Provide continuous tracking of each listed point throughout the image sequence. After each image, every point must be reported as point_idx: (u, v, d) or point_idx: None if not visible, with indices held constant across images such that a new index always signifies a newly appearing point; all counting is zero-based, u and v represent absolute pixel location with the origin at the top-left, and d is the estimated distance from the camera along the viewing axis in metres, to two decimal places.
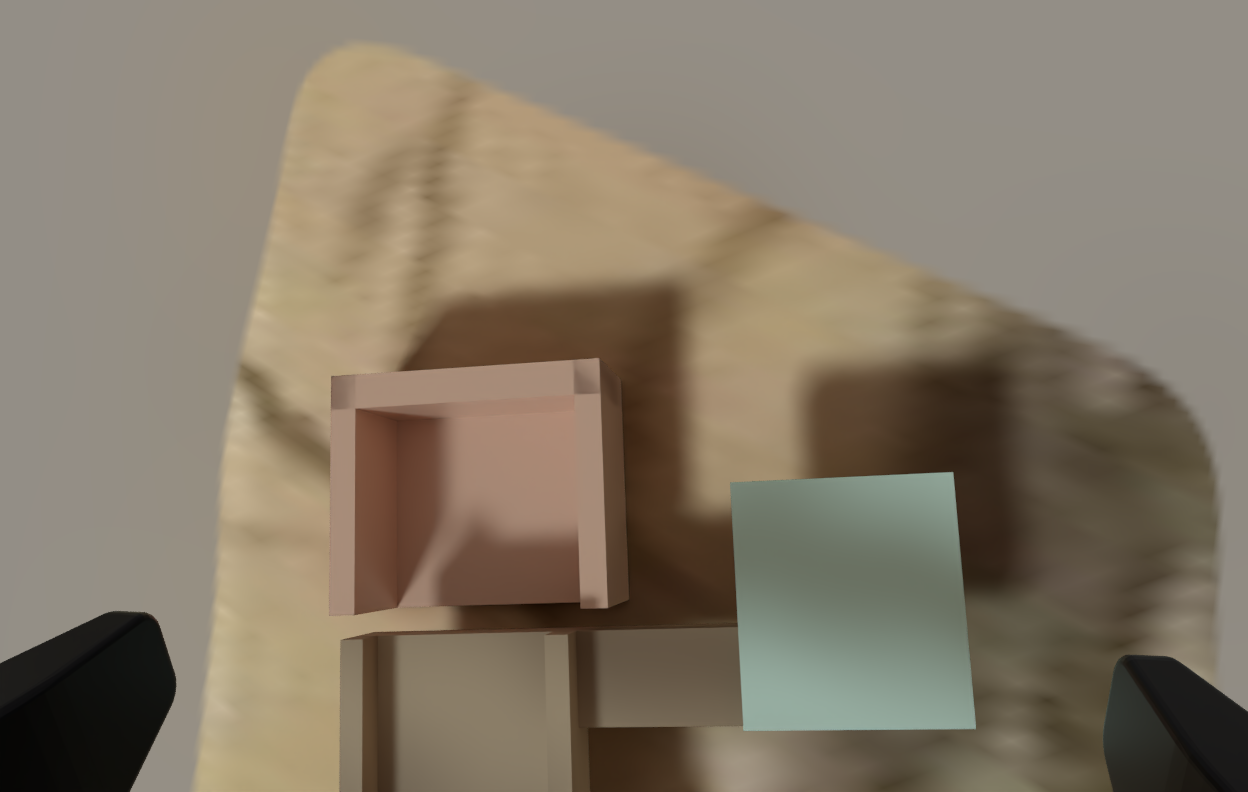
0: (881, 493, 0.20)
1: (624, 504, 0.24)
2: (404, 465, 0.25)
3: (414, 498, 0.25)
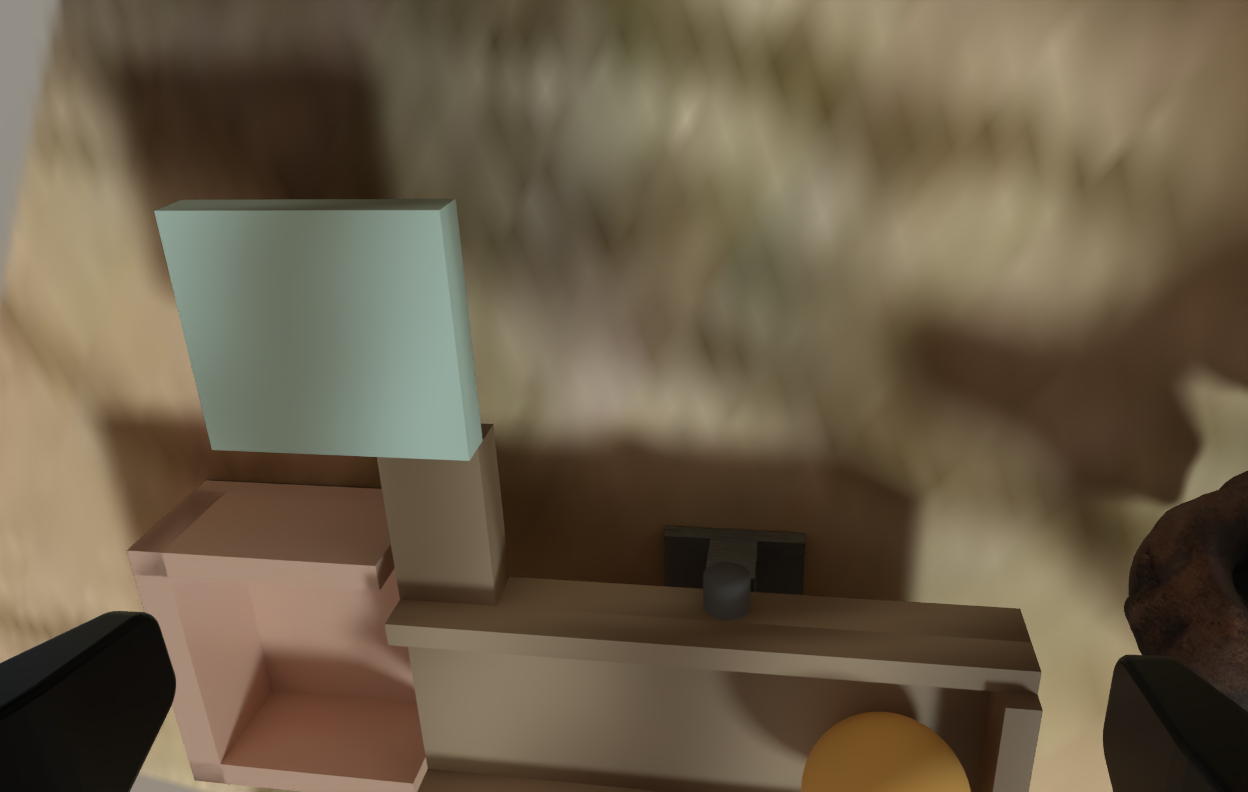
0: (193, 293, 0.17)
1: (327, 490, 0.22)
2: (313, 688, 0.24)
3: (344, 682, 0.24)
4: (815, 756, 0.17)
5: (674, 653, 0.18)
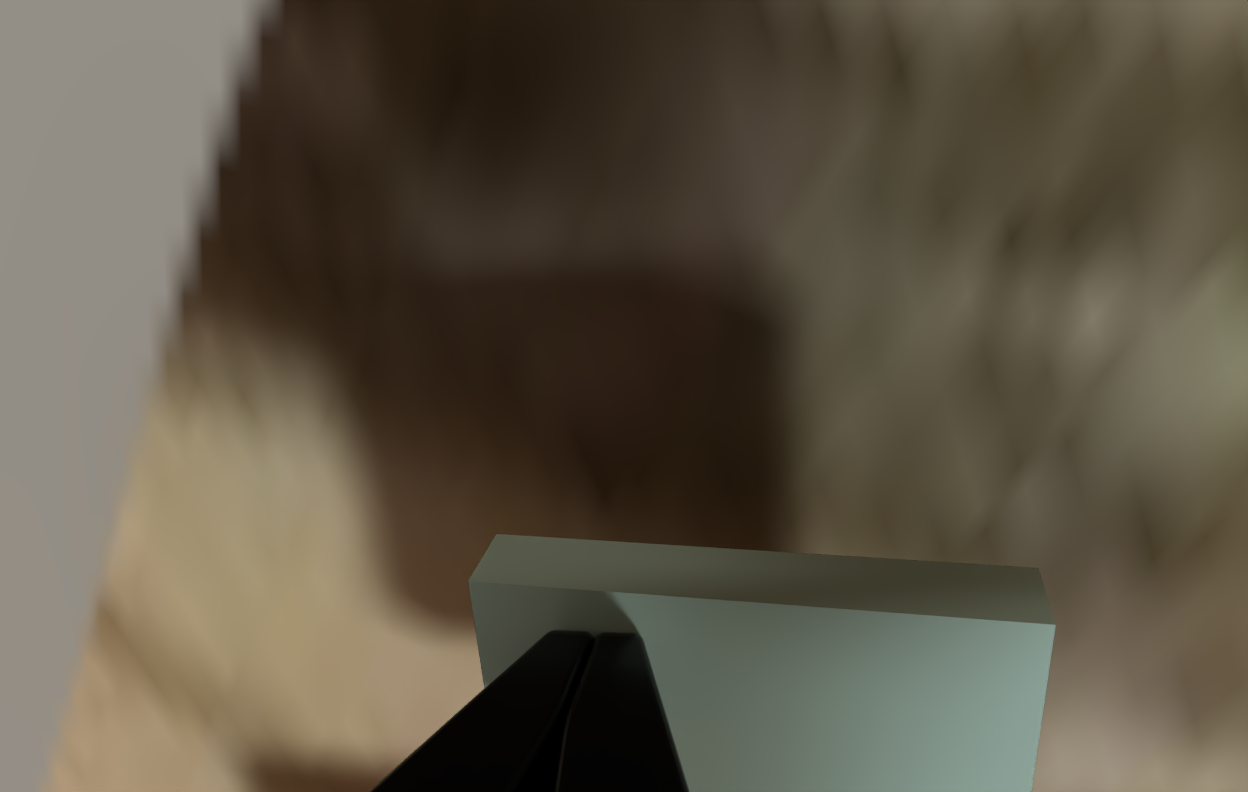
0: None
1: None
2: None
3: None
4: None
5: None
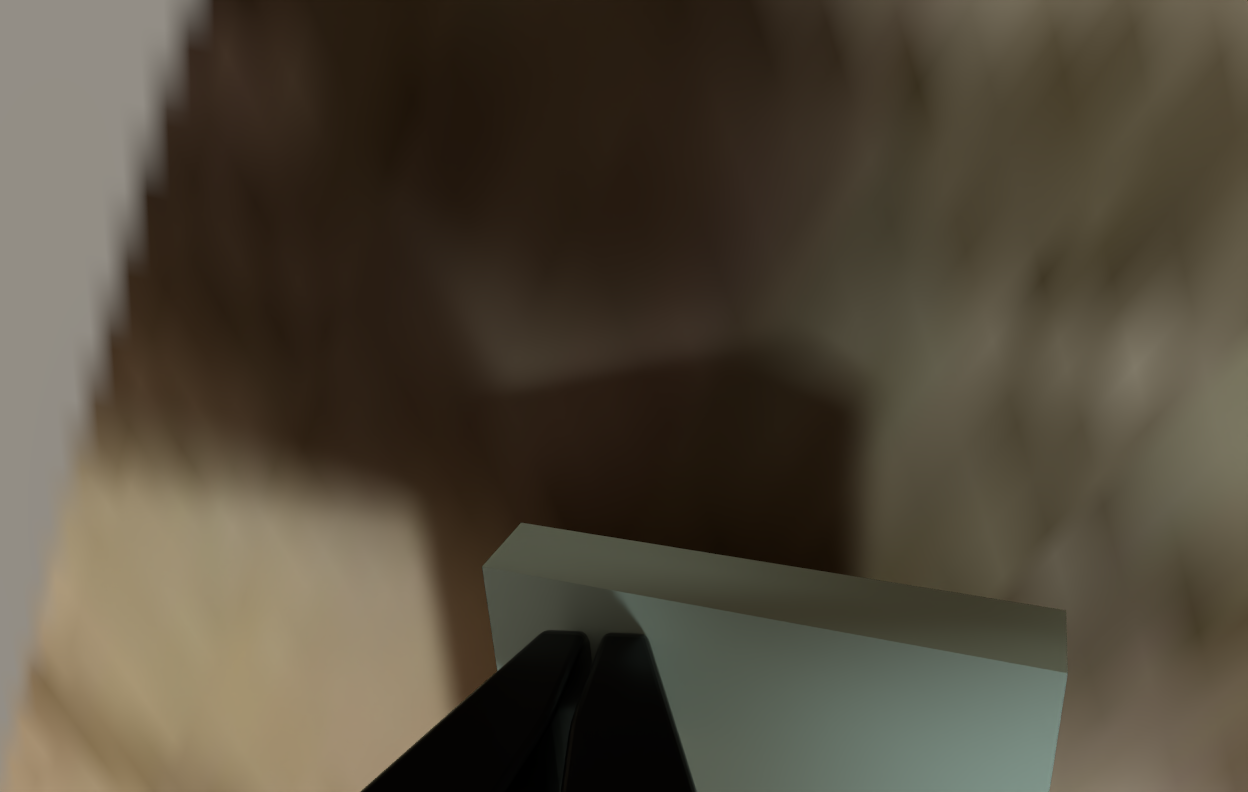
0: None
1: None
2: None
3: None
4: None
5: None
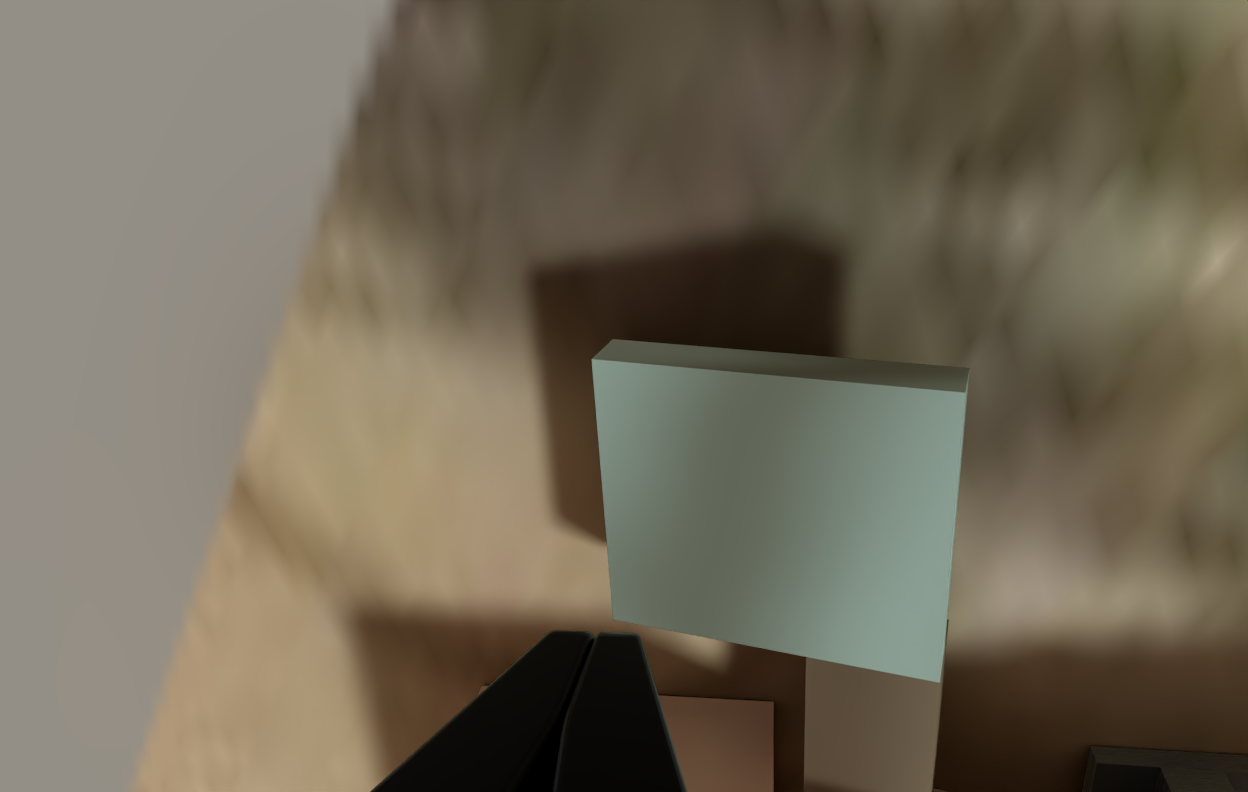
0: (621, 452, 0.14)
1: None
2: None
3: None
4: None
5: None
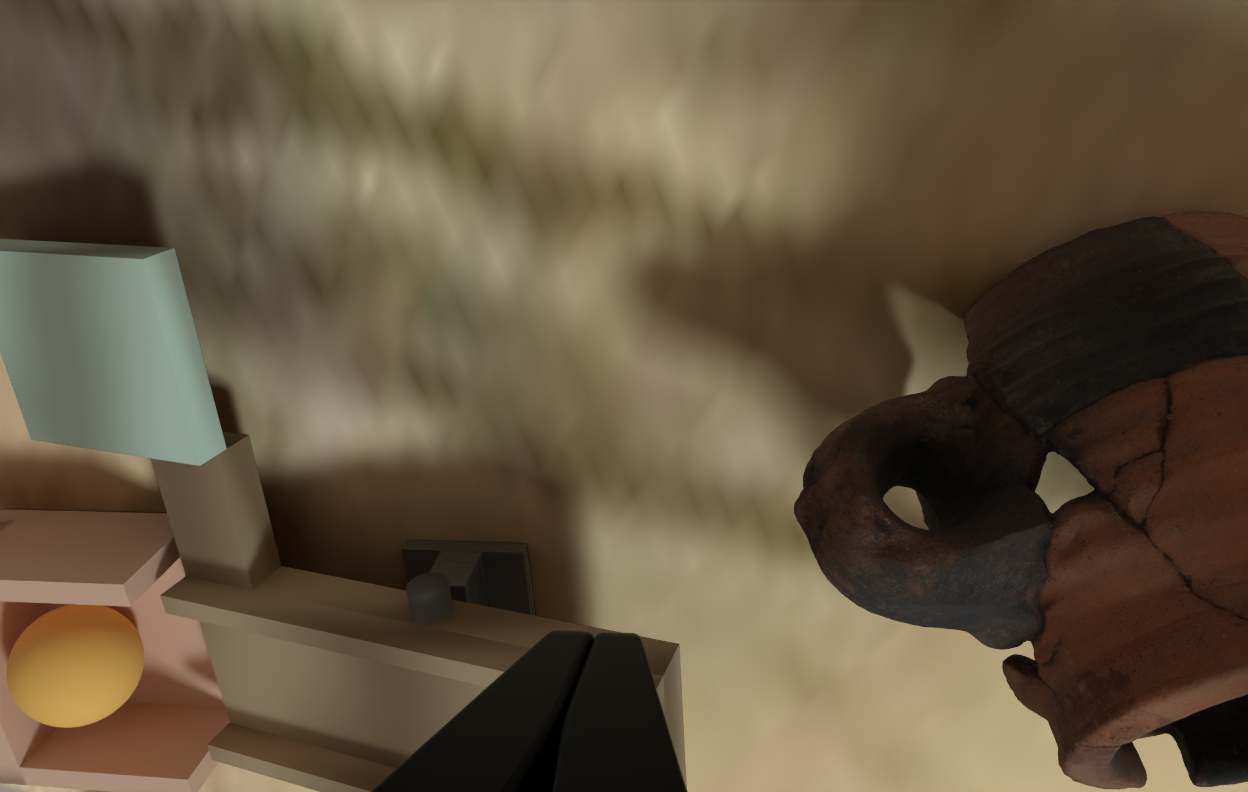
0: None
1: (108, 516, 0.24)
2: None
3: (144, 689, 0.26)
4: (123, 625, 0.24)
5: (365, 647, 0.20)
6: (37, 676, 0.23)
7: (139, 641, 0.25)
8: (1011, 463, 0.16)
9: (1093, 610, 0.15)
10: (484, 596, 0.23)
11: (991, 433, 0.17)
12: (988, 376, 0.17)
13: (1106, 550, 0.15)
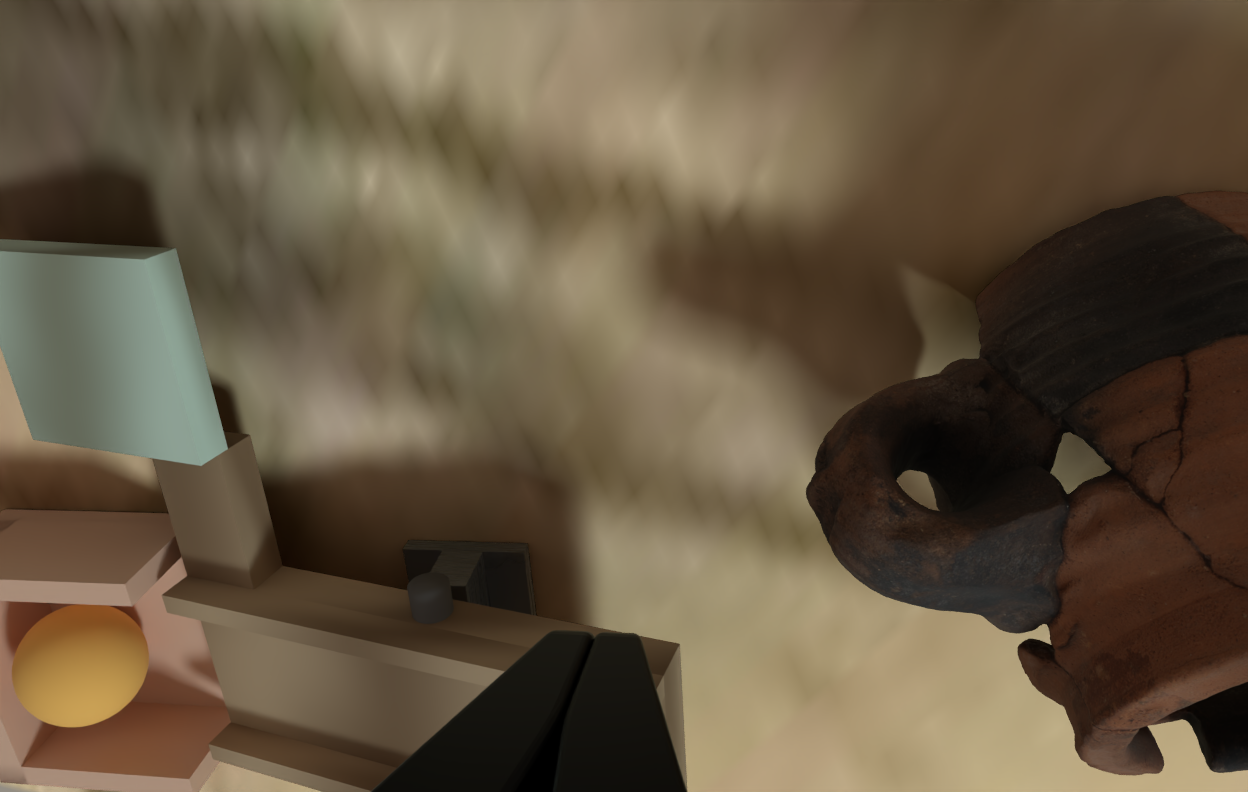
0: (0, 314, 0.21)
1: (109, 515, 0.24)
2: None
3: (145, 689, 0.26)
4: (128, 623, 0.24)
5: (366, 647, 0.20)
6: (45, 676, 0.23)
7: (144, 639, 0.25)
8: (1026, 444, 0.16)
9: (1111, 591, 0.15)
10: (485, 596, 0.23)
11: (1005, 414, 0.16)
12: (1001, 358, 0.17)
13: (1124, 530, 0.14)
